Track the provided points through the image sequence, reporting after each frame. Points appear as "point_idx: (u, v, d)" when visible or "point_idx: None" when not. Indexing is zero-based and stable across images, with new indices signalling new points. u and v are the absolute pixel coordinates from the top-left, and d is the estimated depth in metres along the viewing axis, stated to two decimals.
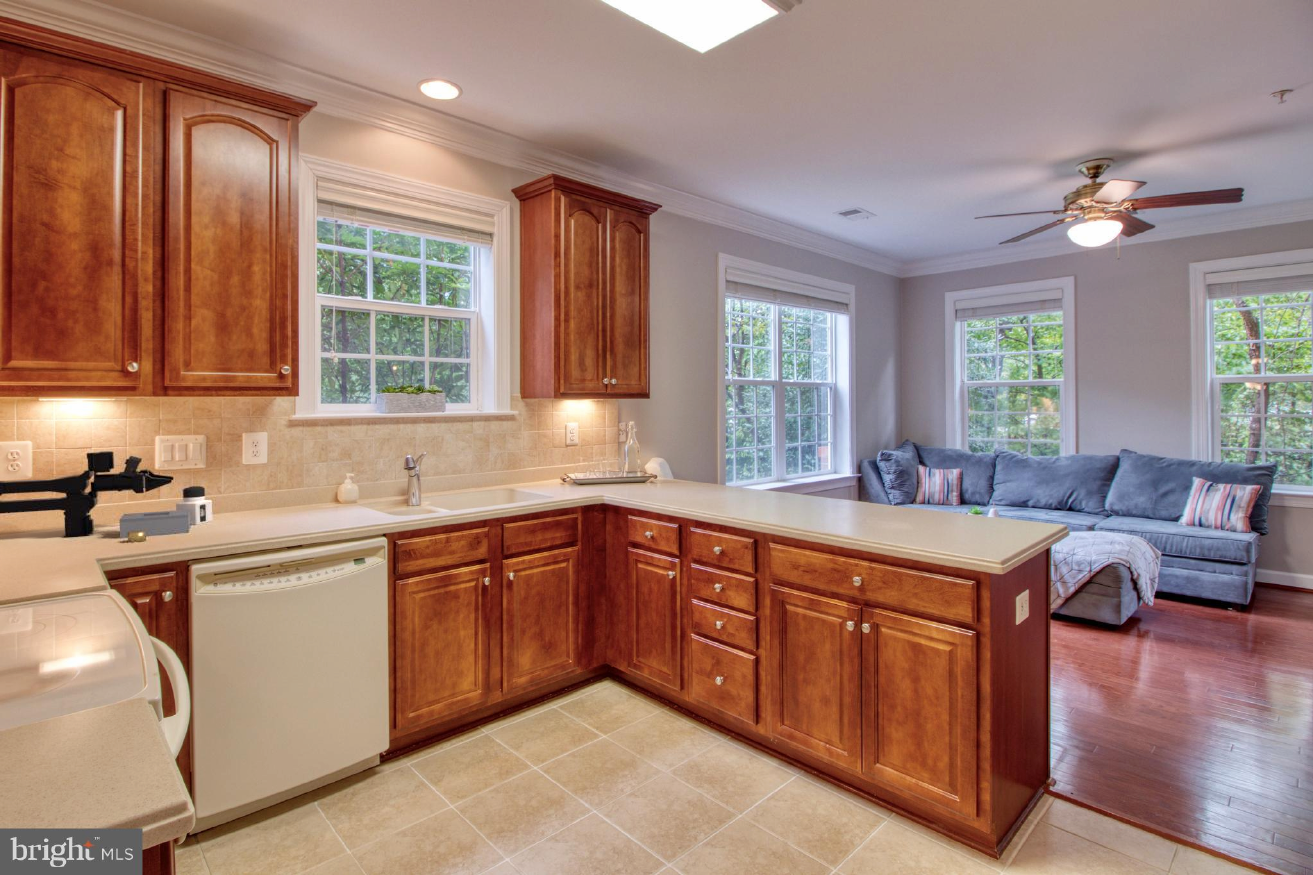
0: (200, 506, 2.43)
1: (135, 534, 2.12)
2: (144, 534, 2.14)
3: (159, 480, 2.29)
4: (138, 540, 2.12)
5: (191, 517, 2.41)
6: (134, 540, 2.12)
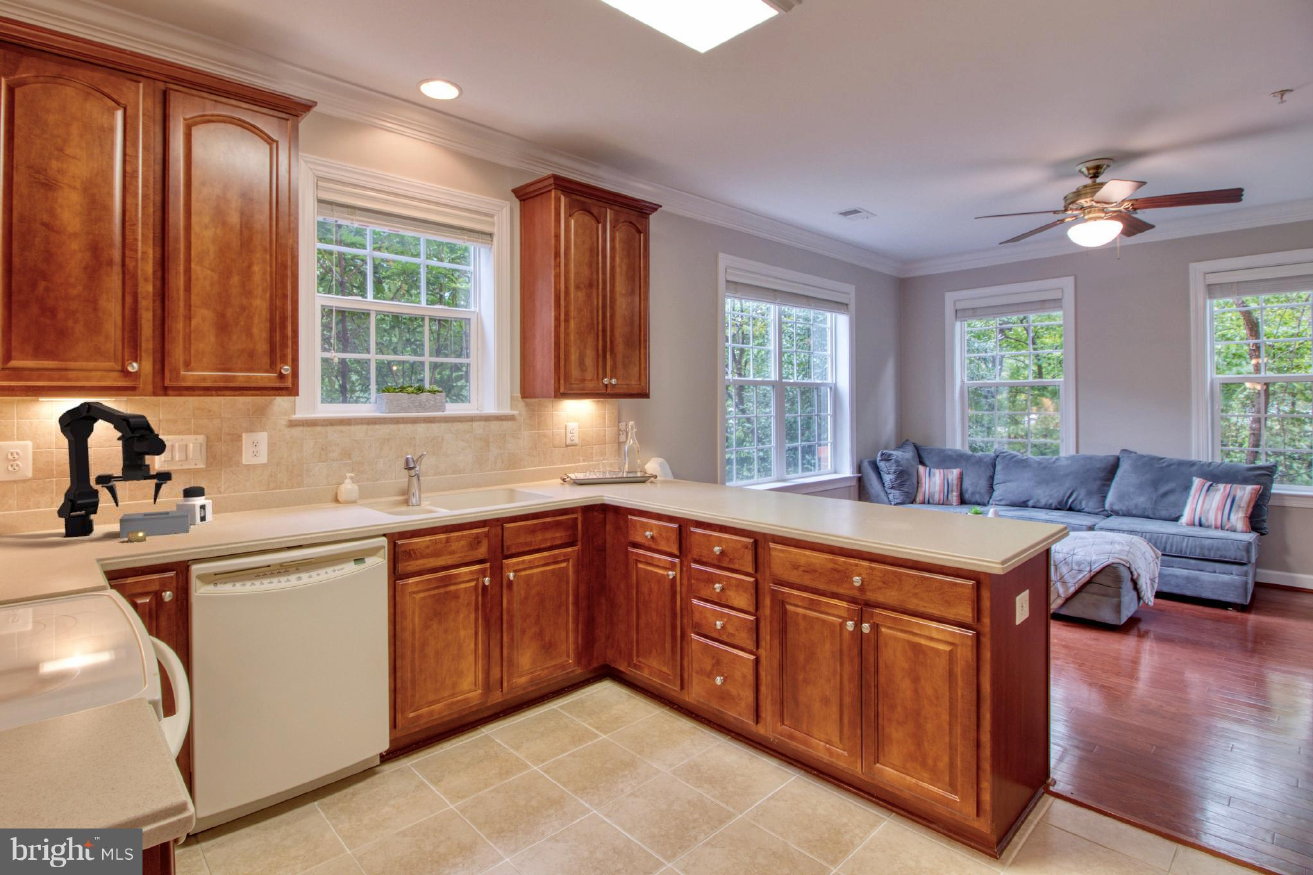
0: (200, 506, 2.43)
1: (135, 534, 2.12)
2: (144, 534, 2.14)
3: (112, 496, 2.10)
4: (138, 540, 2.12)
5: (191, 517, 2.41)
6: (134, 540, 2.12)
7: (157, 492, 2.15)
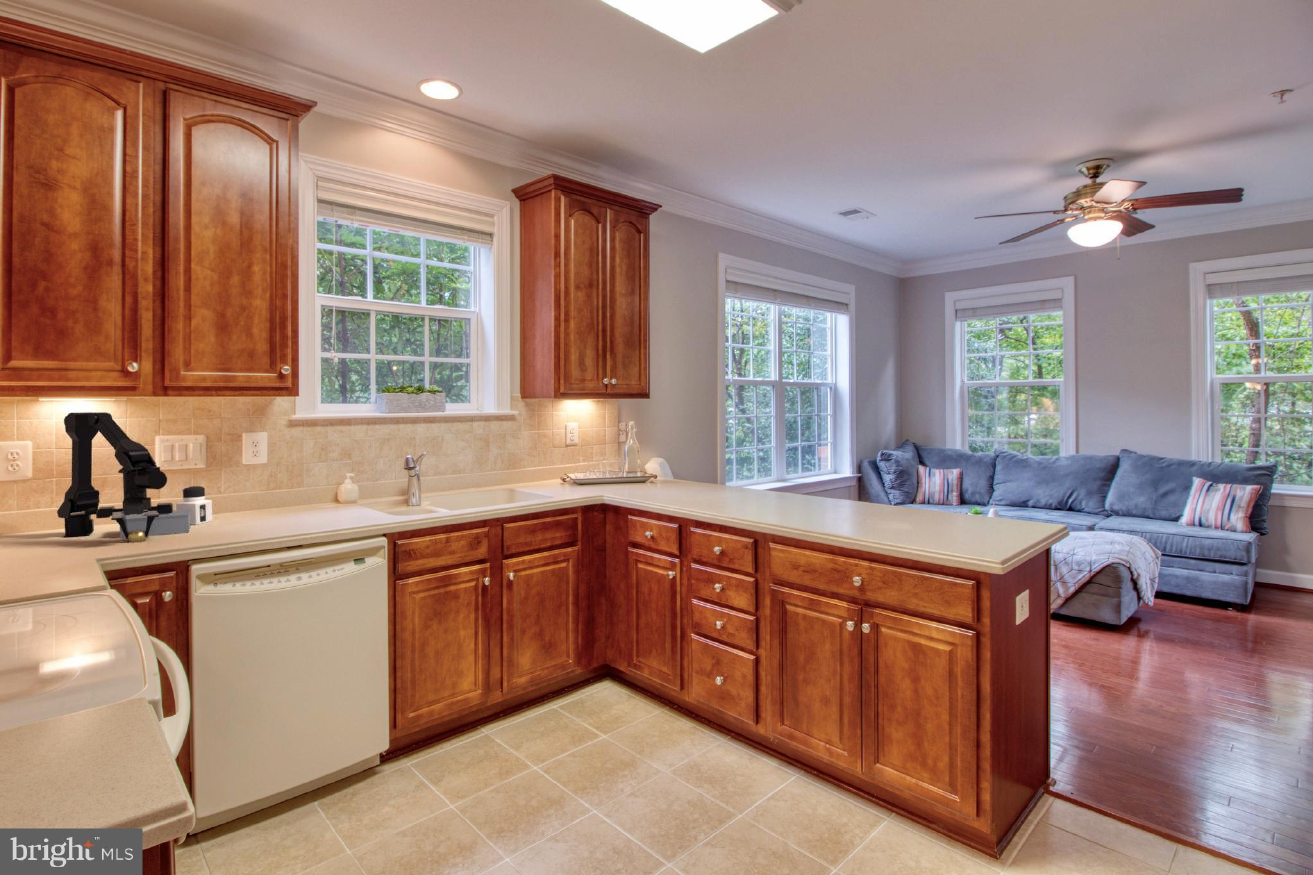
0: (200, 506, 2.43)
1: (135, 534, 2.12)
2: (144, 534, 2.14)
3: (122, 528, 2.11)
4: (138, 540, 2.12)
5: (191, 517, 2.41)
6: (134, 540, 2.12)
7: (149, 525, 2.14)
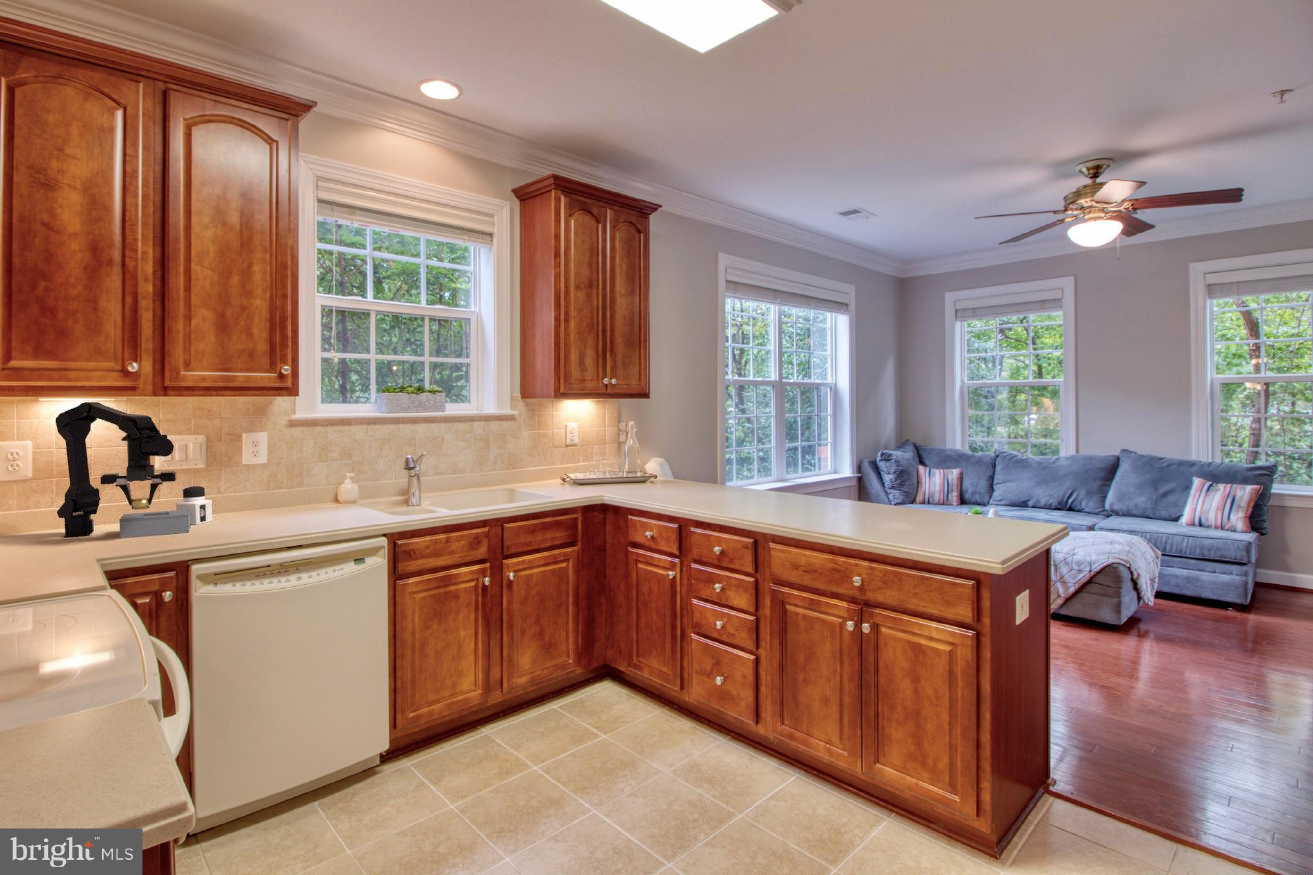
0: (200, 506, 2.43)
1: (138, 501, 2.15)
2: (147, 501, 2.17)
3: (125, 495, 2.14)
4: (141, 507, 2.15)
5: (191, 517, 2.41)
6: (137, 507, 2.15)
7: (152, 492, 2.17)
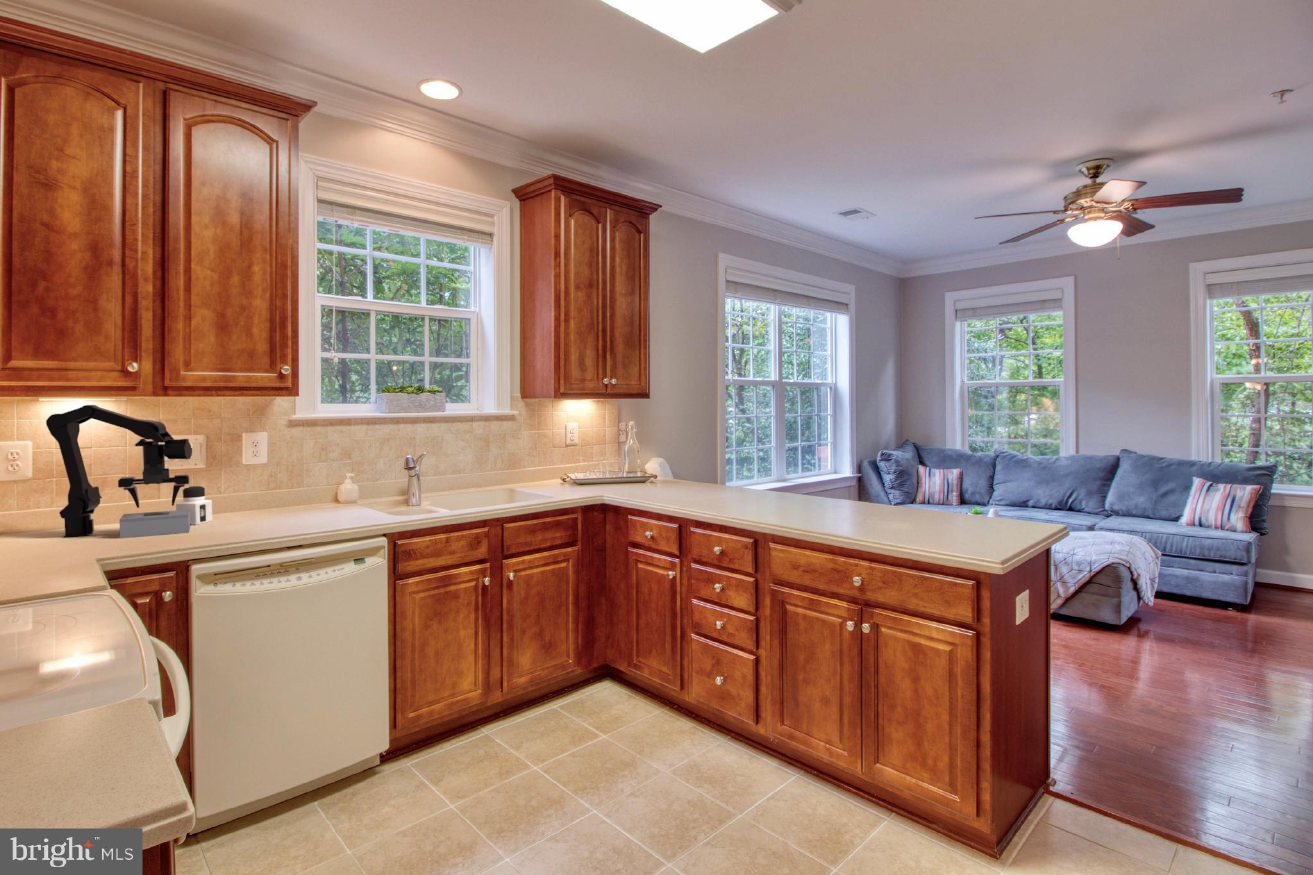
0: (200, 506, 2.43)
1: None
2: None
3: (133, 498, 2.24)
4: None
5: (191, 517, 2.41)
6: None
7: (175, 494, 2.29)
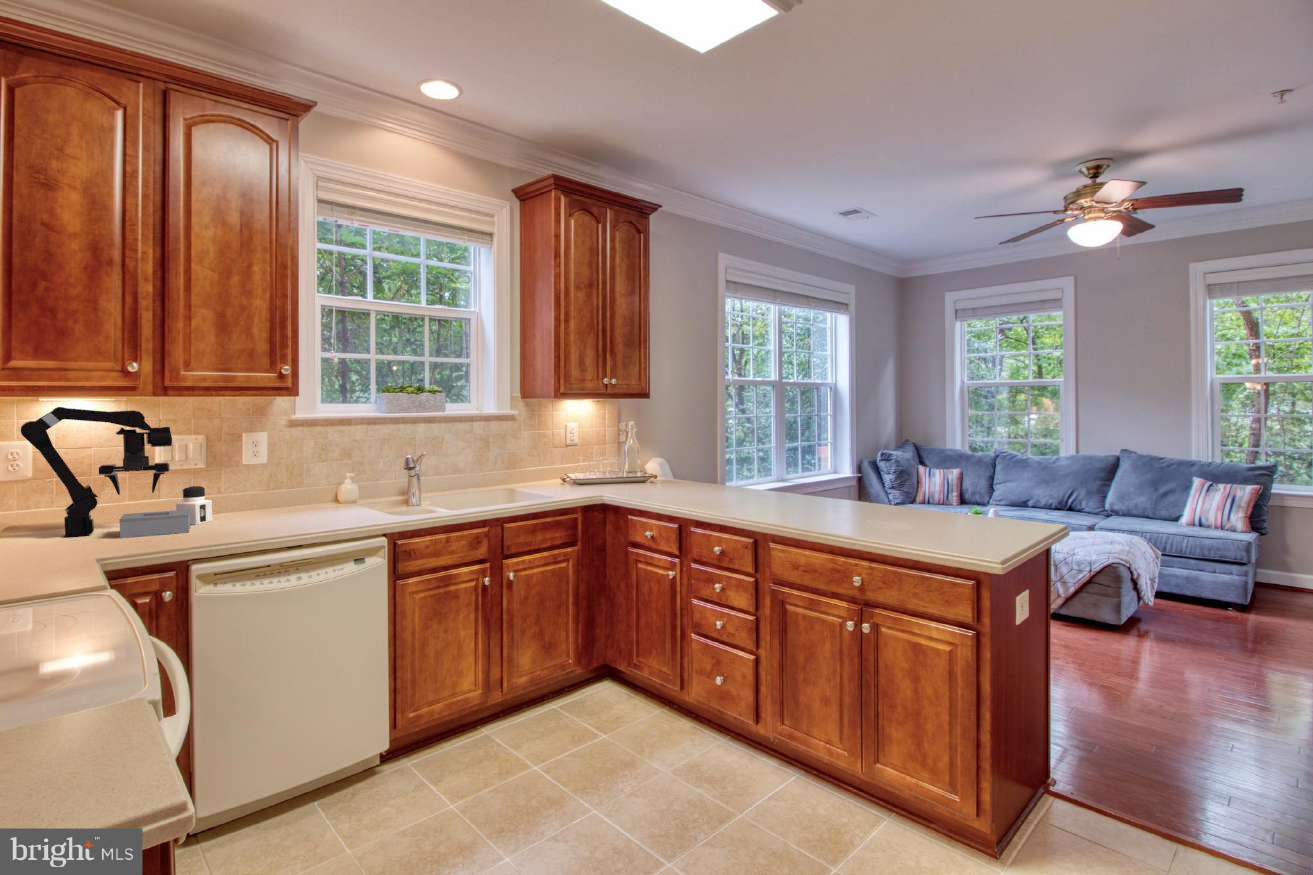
0: (200, 506, 2.43)
1: None
2: None
3: (114, 485, 2.29)
4: None
5: (191, 517, 2.41)
6: None
7: (155, 482, 2.34)
